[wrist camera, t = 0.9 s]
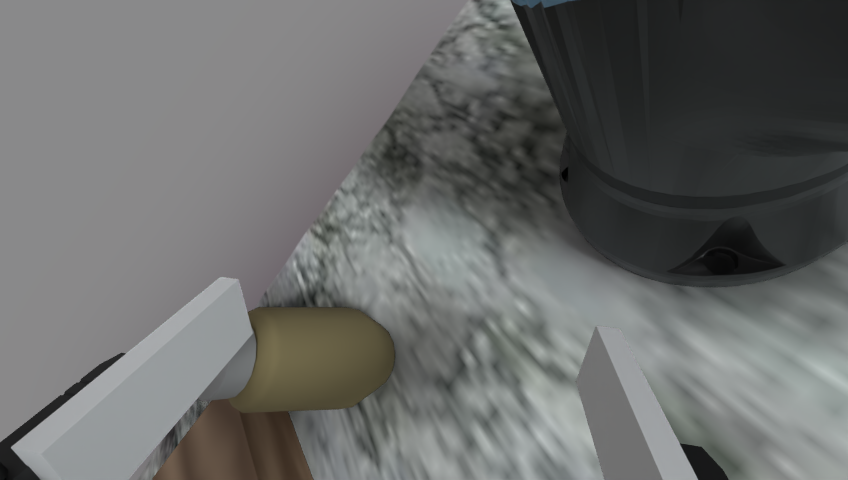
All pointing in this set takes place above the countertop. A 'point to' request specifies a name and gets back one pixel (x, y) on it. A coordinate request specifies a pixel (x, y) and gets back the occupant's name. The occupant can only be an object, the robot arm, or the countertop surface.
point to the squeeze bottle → (305, 361)
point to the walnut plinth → (237, 447)
